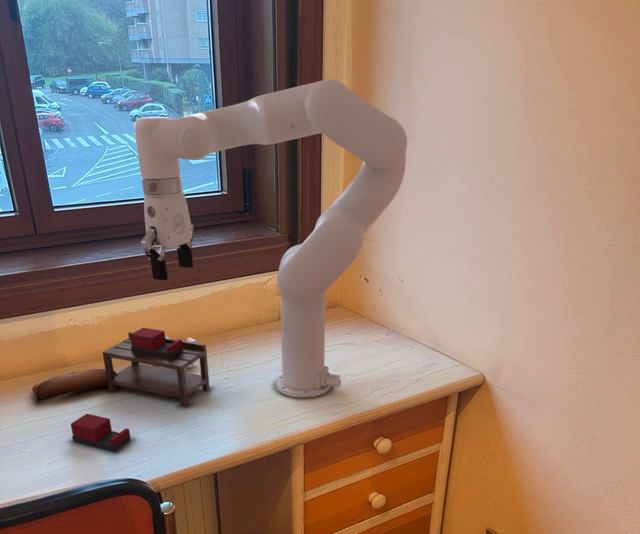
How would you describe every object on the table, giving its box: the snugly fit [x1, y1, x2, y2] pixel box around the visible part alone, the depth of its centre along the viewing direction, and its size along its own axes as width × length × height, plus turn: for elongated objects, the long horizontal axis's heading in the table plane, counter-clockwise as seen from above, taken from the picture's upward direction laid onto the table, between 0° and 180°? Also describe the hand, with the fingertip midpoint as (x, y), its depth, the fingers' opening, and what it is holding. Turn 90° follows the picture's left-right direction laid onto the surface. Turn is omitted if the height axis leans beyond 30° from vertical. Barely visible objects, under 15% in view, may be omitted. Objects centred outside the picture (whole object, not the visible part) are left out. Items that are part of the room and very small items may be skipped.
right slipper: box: [130, 327, 183, 359], centre depth 138 cm, size 10×5×4 cm, turn 68°
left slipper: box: [70, 413, 132, 453], centre depth 123 cm, size 10×5×4 cm, turn 68°
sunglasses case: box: [31, 368, 118, 404], centre depth 143 cm, size 18×7×7 cm
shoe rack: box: [102, 331, 211, 408], centre depth 141 cm, size 20×10×11 cm, turn 68°
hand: (173, 273), depth 134 cm, fingers open, 9 cm apart
